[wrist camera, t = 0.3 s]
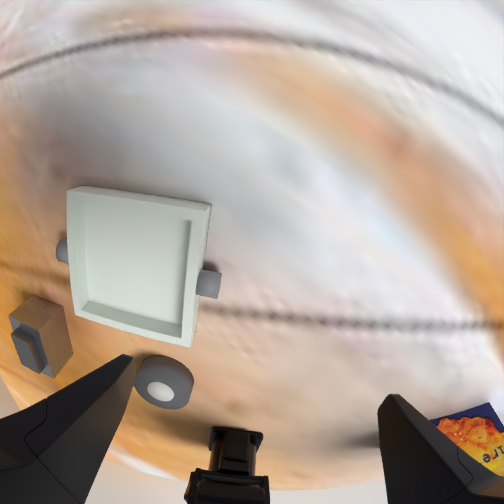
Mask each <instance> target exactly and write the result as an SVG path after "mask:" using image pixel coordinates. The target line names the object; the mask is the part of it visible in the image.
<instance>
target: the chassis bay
mask: <svg viewBox="0 0 504 504" xmlns="http://www.w3.org/2000/svg"><path fill="white" fill-rule="evenodd" d="M211 207H212V204H207V203H201V202H195V201H189V200H183V199H177V198H170V197H164V196H157V195H151V194H144V193H137V192H130V191H122V190H115V189H107V188H99V187H91V186H80V187H77V188H73V189H70V190H67V200H66V222H67V240H64V239H63V240H61V241H60V242H59V243H58V245H57V248H56V257H57V259H58V261H61V262H64V263H68V264H69V273H70V282H71V290H72V298H73V305H74V311H75V315H77V316H80V317H83V318H86V319H89V320H92V321H95V322H98V323H101V324H104V325H107V326H110V327H114V328H117V329H120V330H124V331H127V332H130V333H134V334H137V335H141V336H145V337H148V338H152V339H156V340H160V341H164V342H168V343H172V344H176V345H181V346H185V347H189V348H190V347H191V344H192V341H193V338H194V336H195V333H196V328H197V318H198V308H199V299H200V296H205V297H210V298H215V299H217V297H218V293H219V288H220V283H221V276H222V273H218V272H213V271H208V270H203V265H204V257H205V249H206V242H207V235H208V228H209V221H210V214H211Z"/></svg>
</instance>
